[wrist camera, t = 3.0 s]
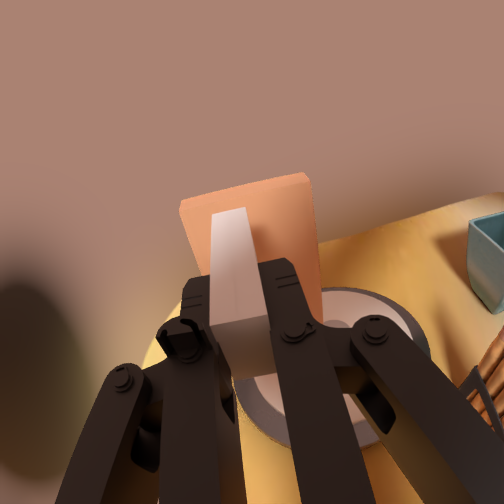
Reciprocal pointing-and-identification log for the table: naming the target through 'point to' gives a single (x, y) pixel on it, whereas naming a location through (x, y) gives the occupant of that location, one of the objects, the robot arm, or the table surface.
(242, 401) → the base
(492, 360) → the ammunition clip
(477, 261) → the flower pot
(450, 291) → the table surface
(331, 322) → the dial
